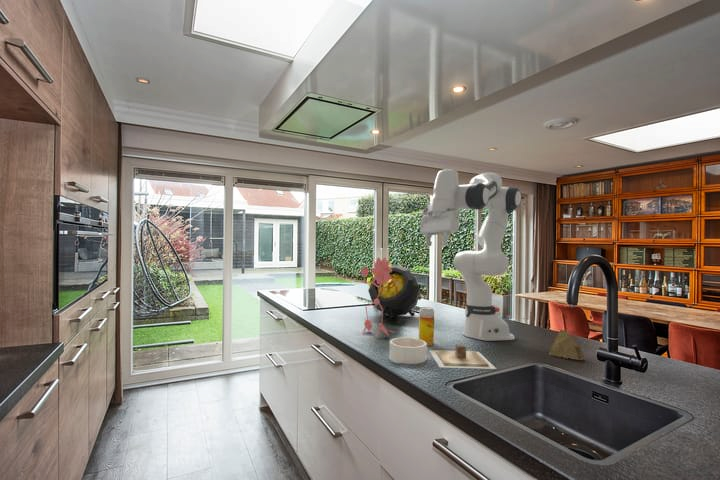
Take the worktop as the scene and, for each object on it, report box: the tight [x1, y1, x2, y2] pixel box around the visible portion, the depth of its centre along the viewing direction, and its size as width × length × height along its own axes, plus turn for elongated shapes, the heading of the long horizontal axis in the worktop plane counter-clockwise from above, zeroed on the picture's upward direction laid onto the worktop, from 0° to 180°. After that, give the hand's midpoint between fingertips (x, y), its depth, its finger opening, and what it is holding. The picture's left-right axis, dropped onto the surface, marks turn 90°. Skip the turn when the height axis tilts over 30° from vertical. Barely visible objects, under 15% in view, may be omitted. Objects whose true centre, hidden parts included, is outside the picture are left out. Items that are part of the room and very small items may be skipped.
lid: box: [435, 343, 489, 367], centre depth 133 cm, size 15×15×5 cm
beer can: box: [418, 306, 435, 346], centre depth 153 cm, size 6×6×15 cm
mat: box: [429, 350, 497, 370], centre depth 133 cm, size 19×19×1 cm
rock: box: [548, 328, 585, 361], centre depth 139 cm, size 11×9×10 cm
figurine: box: [360, 256, 399, 339], centre depth 169 cm, size 15×26×35 cm, turn 39°
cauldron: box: [368, 264, 422, 321], centre depth 209 cm, size 28×28×24 cm
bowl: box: [388, 337, 428, 365], centre depth 133 cm, size 13×13×6 cm
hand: (435, 245), depth 138 cm, fingers open, 8 cm apart
